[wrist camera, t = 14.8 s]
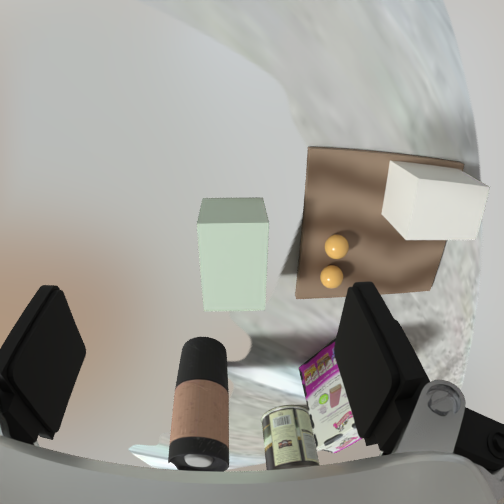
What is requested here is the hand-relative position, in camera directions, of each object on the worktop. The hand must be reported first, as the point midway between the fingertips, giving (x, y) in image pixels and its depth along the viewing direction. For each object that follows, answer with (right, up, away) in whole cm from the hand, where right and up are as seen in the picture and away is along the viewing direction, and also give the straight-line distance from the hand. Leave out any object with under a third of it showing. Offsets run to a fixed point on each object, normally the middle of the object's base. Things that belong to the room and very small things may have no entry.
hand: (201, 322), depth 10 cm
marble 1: (+12, +3, +29) cm, 31 cm away
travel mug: (-6, -14, +40) cm, 43 cm away
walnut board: (+19, +5, +31) cm, 36 cm away
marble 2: (+12, -1, +31) cm, 33 cm away
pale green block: (-1, +4, +30) cm, 31 cm away
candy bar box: (+15, -15, +42) cm, 47 cm away
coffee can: (+9, -32, +52) cm, 62 cm away
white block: (+23, +10, +27) cm, 37 cm away
